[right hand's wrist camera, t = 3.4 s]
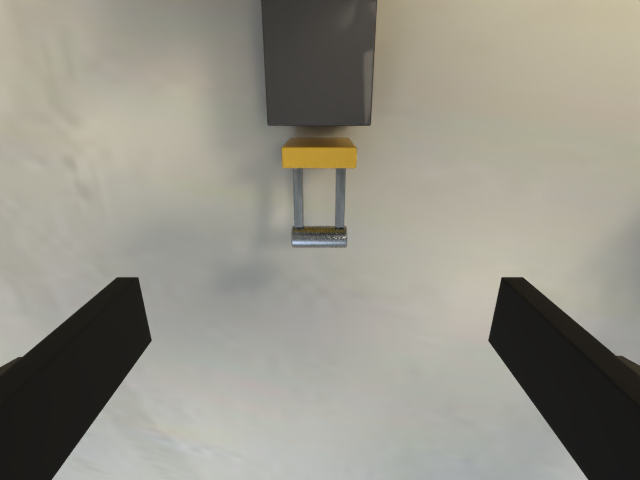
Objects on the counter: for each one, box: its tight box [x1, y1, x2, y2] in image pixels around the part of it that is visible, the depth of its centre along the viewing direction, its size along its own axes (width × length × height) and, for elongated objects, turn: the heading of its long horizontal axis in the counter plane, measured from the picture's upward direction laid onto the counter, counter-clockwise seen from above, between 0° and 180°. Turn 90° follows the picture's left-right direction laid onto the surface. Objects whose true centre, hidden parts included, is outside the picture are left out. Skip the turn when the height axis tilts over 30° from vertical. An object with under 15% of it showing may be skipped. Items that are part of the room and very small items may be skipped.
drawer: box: [282, 138, 357, 248], centre depth 22 cm, size 20×4×6 cm, turn 0°
